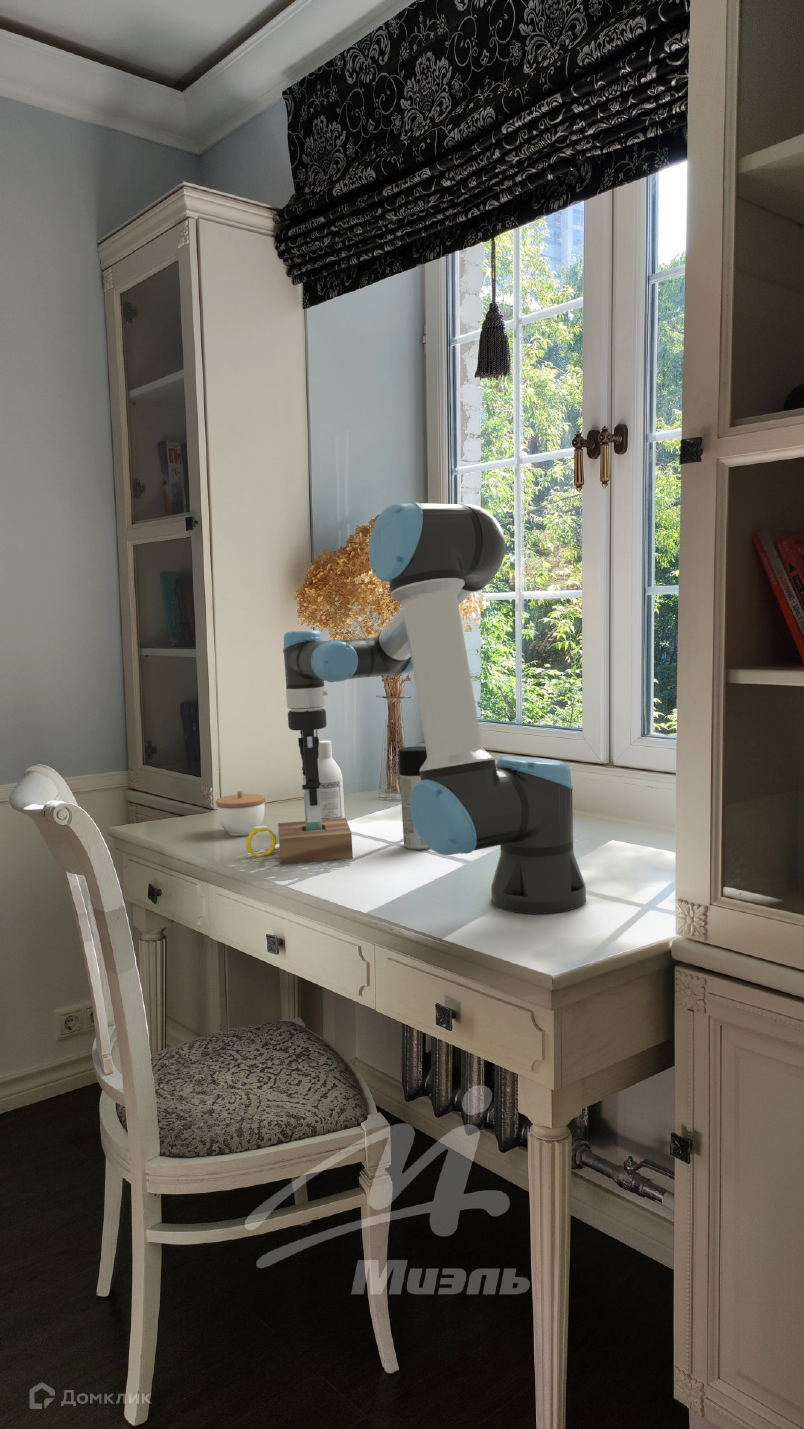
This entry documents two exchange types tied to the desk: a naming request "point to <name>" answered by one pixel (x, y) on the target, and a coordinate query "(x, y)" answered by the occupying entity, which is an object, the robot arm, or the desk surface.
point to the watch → (260, 829)
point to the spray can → (409, 777)
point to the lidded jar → (240, 813)
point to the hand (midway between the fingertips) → (312, 814)
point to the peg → (311, 825)
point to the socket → (315, 841)
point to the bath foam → (330, 784)
